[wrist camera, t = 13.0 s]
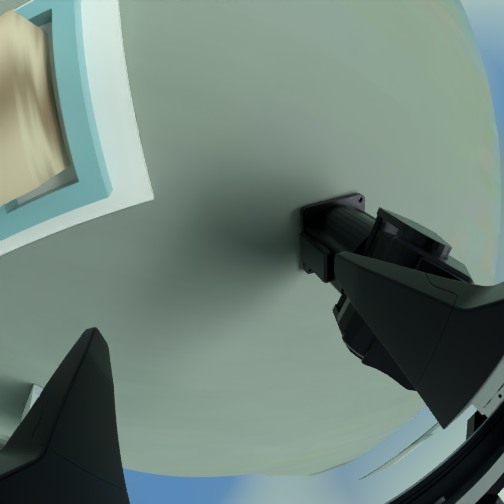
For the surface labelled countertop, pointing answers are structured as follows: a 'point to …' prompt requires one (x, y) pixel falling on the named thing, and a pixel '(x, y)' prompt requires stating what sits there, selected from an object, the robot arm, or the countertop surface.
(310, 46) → the countertop surface
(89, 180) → the keyed cradle
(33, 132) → the key block
